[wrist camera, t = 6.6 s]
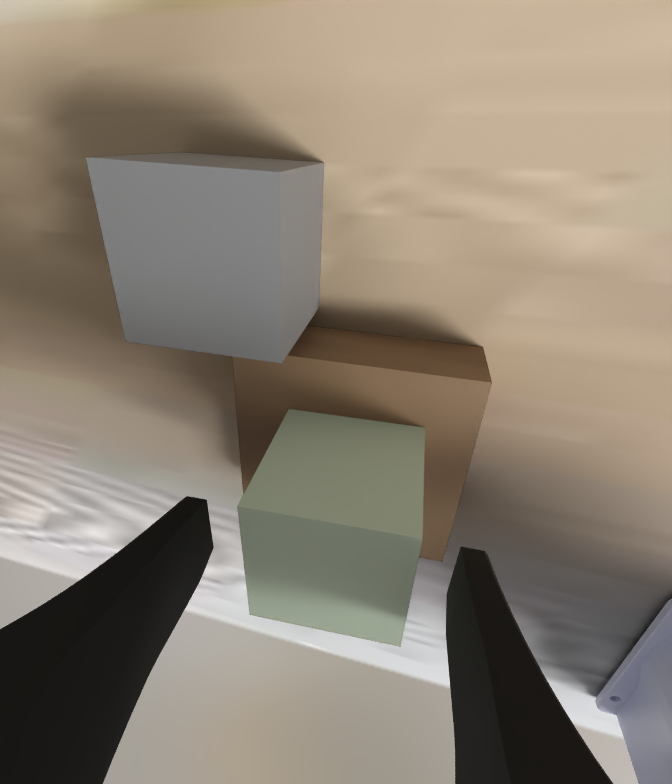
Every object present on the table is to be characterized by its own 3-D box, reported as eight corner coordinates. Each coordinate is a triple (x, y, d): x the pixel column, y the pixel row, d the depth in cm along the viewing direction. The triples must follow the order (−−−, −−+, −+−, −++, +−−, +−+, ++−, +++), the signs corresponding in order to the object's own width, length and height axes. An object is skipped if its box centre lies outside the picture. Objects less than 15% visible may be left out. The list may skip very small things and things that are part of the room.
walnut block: (441, 505, 19) (442, 561, 17) (268, 476, 20) (245, 524, 18) (481, 341, 15) (491, 382, 13) (262, 314, 16) (231, 348, 14)
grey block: (319, 307, 15) (282, 363, 11) (199, 292, 16) (125, 341, 12) (324, 162, 13) (279, 172, 9) (183, 152, 13) (85, 157, 10)
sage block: (407, 526, 16) (400, 646, 12) (291, 505, 17) (249, 614, 13) (425, 427, 14) (422, 538, 10) (288, 409, 14) (237, 506, 11)
